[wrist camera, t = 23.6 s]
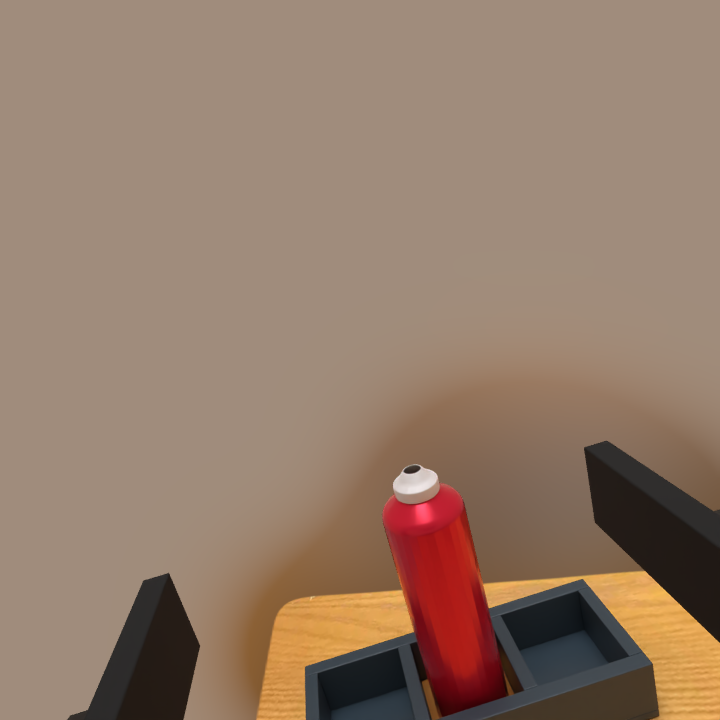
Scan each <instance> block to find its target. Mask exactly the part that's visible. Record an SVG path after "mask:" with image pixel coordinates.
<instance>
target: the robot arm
mask: <svg viewBox="0 0 720 720" xmlns="http://www.w3.org/2000/svg"><path fill="white" fill-rule="evenodd" d="M584 451H585V458H586V465H587V472H588V478H589V485H590V492H591V499H592V505H593V512H594V519H595V523H596V524H597V525H598V526H599V527H600V528H601V529H602V530H603V531H604V532H605V533H606V534H607V535H608V536H610V538H612V539H613V540H614V541H615V542H616V543H617V544H618V545H619V546H620V547H621V548H622V549H623V550H624V551H625V552H626V553H627V554H628V555H629V556H630V557H631V558H632V559H633V560H634V561H635V562H637V564H639V565H640V566H641V567H642V568H643V569H644V570H645V571H646V572H647V573H648V574H649V575H650V576H651V577H652V578H653V579H654V580H655V581H656V582H657V583H658V584H659V585H660V586H661V587H662V588H663V589H665V590H666V591H667V592H668V593H669V594H670V595H671V596H672V597H673V598H674V599H675V600H676V601H677V602H678V603H679V604H680V605H681V606H682V607H683V608H684V609H685V610H686V611H687V612H688V613H689V614H690V615H692V616H693V617H694V618H695V619H696V620H697V621H698V622H699V623H700V624H701V625H702V626H703V627H704V628H705V629H706V630H707V631H708V632H709V633H710V634H711V635H712V636H713V637H714V638H715V639H716V640H717V641H719V642H720V510H717V511H712V510H710V509H709V508H707V507H706V506H704V505H703V504H702V503H700V502H699V501H697V500H696V499H694V498H693V497H691V496H689V495H688V494H686V493H685V492H683V491H682V490H680V489H679V488H677V487H676V486H674V485H673V484H671V483H670V482H668V481H667V480H665V479H664V478H662V477H661V476H659V475H658V474H656V473H655V472H653V471H652V470H650V469H649V468H647V467H646V466H644V465H643V464H641V463H640V462H638V461H637V460H635V459H634V458H632V457H631V456H629V455H628V454H626V453H625V452H623V451H622V450H620V449H619V448H617V447H616V446H614V445H613V444H611V443H610V442H608V441H604V442H601V443H598V444H594V445H591V446H588V447H585V448H584ZM199 648H200V645H199V642H198V640H197V638H196V635H195V633H194V631H193V628H192V626H191V624H190V621H189V619H188V617H187V614H186V612H185V610H184V607H183V605H182V602H181V600H180V598H179V596H178V593H177V591H176V588H175V586H174V584H173V581H172V579H171V577H170V574H169V573H167V574H164V575H161V576H158V577H154V578H152V579H148V580H144V581H143V583H142V585H141V588H140V590H139V592H138V595H137V597H136V599H135V602H134V604H133V606H132V609H131V611H130V613H129V616H128V618H127V620H126V623H125V625H124V627H123V630H122V632H121V634H120V637H119V639H118V641H117V644H116V646H115V648H114V651H113V653H112V655H111V658H110V660H109V662H108V665H107V667H106V669H105V671H104V674H103V676H102V678H101V681H100V683H99V685H98V688H97V690H96V692H95V695H94V697H93V699H92V702H91V704H90V706H89V709H88V710H87V711H84V712H80V713H78V714H74V715H71V716H70V717H69V718H68V720H183V719H184V714H185V710H186V705H187V701H188V696H189V692H190V688H191V683H192V679H193V675H194V670H195V666H196V661H197V657H198V652H199Z"/></svg>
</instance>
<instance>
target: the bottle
mask: <svg viewBox="0 0 720 720" xmlns="http://www.w3.org/2000/svg"><path fill="white" fill-rule="evenodd" d="M393 489H394V492H395V493H394V494H393V495H392V496H391V497H390V498H389V500H388V501H387V502H386V504H385V506H384V509H383V514H382V520H383V525H384V528H385V532H386V535H387V539H388V542H389V546H390V549H391V553H392V556H393V560H394V563H395V566H396V570H397V573H398V577H399V581H400V584H401V587H402V591H403V594H404V598H405V601H406V605H407V608H408V612H409V615H410V619H411V622H412V626H413V629H414V633H415V636H416V640H417V643H418V647H419V650H420V654H421V657H422V661H423V664H424V668H425V671H426V675H427V678H428V682H429V685H430V689H431V692H432V696H433V699H434V703H435V706H436V710H437V713H438V716H439V718H442V717H445V716H448V715H451V714H454V713H457V712H461V711H464V710H467V709H470V708H473V707H476V706H479V705H482V704H485V703H488V702H491V701H494V700H497V699H501V698H504V697H507V696H509V693H508V689H507V685H506V680H505V676H504V672H503V668H502V663H501V659H500V655H499V650H498V646H497V642H496V638H495V633H494V629H493V625H492V621H491V616H490V612H489V608H488V603H487V599H486V595H485V591H484V586H483V582H482V578H481V574H480V569H479V565H478V561H477V556H476V552H475V548H474V543H473V539H472V535H471V531H470V527H469V522H468V518H467V514H466V509H465V505H464V502H463V499H462V497H461V495H460V494H459V493H458V492H457V491H456V490H455V489H454V488H452V487H451V486H449V485H447V484H444V483H440V482H439V480H438V477H437V474H436V473H435V472H433V471H432V470H429V469H424V468H423V467H422V466H420V465H416V464H415V465H409V466H407V467H405V468H404V469H403V471H402V473H401V475H400V476H398V477H397V479H395V481H394V483H393Z"/></svg>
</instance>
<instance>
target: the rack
mask: <svg viewBox="0 0 720 720" xmlns="http://www.w3.org/2000/svg"><path fill="white" fill-rule="evenodd" d="M489 612H490V616H491V621H492V625H493V629H494V633H495V638H496V642H497V646H498V650H499V655H500V659H501V663H502V668H503V672H504V676H505V680H506V685H507V689H508V693H509V696H507V697H504V698H501V699H497V700H494V701H491V702H488V703H485V704H482V705H479V706H476V707H473V708H470V709H467V710H464V711H461V712H457V713H454V714H451V715H448V716H445V717H442V718H439V716H438V713H437V710H436V706H435V703H434V699H433V696H432V692H431V689H430V685H429V682H428V678H427V675H426V671H425V668H424V664H423V661H422V657H421V654H420V650H419V647H418V643H417V640H416V636H415V633H414V632H413V633H410V634H407V635H404V636H400V637H397V638H394V639H391V640H388V641H385V642H381V643H378V644H375V645H372V646H369V647H366V648H362V649H359V650H356V651H353V652H350V653H347V654H343V655H340V656H337V657H334V658H331V659H328V660H324V661H321V662H318V663H315V664H312V665H309V666H306V667H305V697H306V720H647V719H650V718H653V717H656V716H659V710H658V702H657V694H656V686H655V678H654V671H653V664H652V662H651V661H650V660H649V659H648V658H647V656H646V655H645V654H644V653H643V651H642V650H641V649H640V648H639V647H638V645H637V644H636V643H635V642H634V640H633V639H632V638H631V637H630V636H629V634H628V633H627V632H626V631H625V630H624V628H623V627H622V626H621V625H620V623H619V622H618V621H617V620H616V619H615V617H614V616H613V615H612V614H611V613H610V611H609V610H608V609H607V608H606V607H605V605H604V604H603V603H602V602H601V600H600V599H599V598H598V597H597V596H596V594H595V593H594V592H593V591H592V590H591V588H590V587H589V586H588V585H587V584H586V582H585V581H584V580H583V579H581V580H578V581H575V582H571V583H568V584H565V585H562V586H559V587H556V588H552V589H549V590H546V591H543V592H540V593H537V594H533V595H530V596H527V597H524V598H521V599H518V600H514V601H511V602H508V603H505V604H502V605H499V606H495V607H492V608H489Z"/></svg>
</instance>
